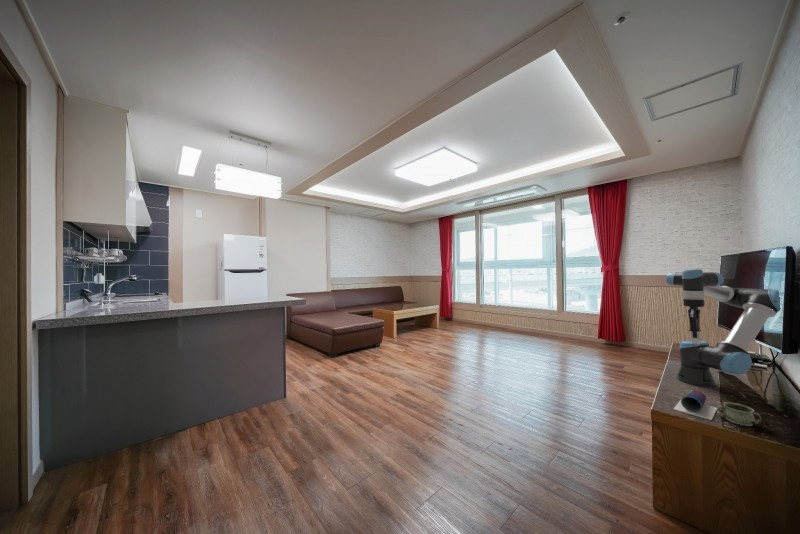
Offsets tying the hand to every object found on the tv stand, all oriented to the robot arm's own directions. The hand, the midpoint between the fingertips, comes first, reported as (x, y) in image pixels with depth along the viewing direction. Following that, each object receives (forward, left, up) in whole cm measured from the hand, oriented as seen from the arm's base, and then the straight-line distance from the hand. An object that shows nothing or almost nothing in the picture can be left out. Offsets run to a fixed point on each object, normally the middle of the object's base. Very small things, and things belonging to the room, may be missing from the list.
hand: (695, 343), depth 144 cm
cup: (+12, +2, -23) cm, 26 cm away
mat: (+22, +2, -26) cm, 34 cm away
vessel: (+22, +15, -27) cm, 38 cm away
